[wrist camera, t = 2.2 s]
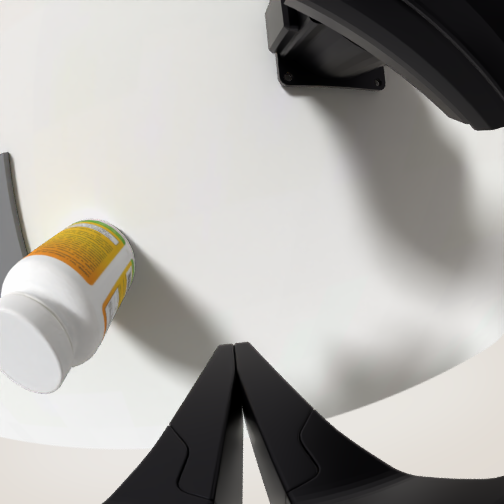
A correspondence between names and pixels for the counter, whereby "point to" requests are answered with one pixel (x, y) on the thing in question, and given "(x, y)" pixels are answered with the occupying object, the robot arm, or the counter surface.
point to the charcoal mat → (8, 223)
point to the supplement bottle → (62, 303)
